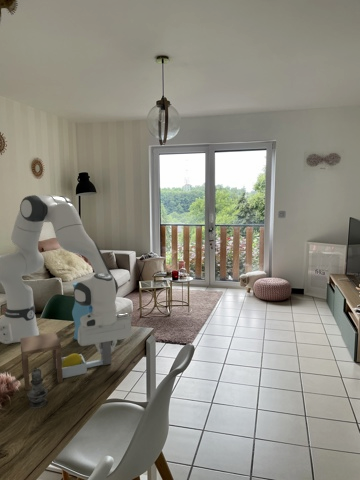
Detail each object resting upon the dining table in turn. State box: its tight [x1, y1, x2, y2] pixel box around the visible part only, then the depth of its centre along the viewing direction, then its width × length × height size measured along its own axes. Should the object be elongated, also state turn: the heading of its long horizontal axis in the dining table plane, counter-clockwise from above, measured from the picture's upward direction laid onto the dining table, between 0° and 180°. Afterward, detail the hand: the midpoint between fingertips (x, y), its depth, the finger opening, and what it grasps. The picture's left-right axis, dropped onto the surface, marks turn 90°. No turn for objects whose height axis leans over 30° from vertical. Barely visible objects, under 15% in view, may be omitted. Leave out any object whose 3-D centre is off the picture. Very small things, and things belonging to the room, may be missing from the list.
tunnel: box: [20, 332, 64, 391], centre depth 128 cm, size 12×13×13 cm
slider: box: [55, 341, 112, 379], centre depth 135 cm, size 19×9×9 cm, turn 116°
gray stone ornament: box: [26, 366, 49, 409], centre depth 112 cm, size 6×6×12 cm
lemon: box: [62, 352, 83, 368], centre depth 132 cm, size 6×6×8 cm
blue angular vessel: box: [71, 281, 93, 341], centre depth 164 cm, size 10×10×25 cm
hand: (106, 352), depth 138 cm, fingers closed on slider, 3 cm apart
